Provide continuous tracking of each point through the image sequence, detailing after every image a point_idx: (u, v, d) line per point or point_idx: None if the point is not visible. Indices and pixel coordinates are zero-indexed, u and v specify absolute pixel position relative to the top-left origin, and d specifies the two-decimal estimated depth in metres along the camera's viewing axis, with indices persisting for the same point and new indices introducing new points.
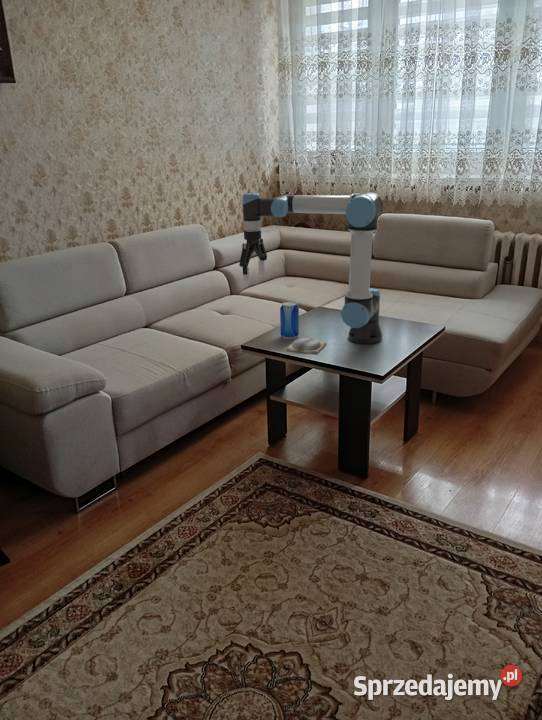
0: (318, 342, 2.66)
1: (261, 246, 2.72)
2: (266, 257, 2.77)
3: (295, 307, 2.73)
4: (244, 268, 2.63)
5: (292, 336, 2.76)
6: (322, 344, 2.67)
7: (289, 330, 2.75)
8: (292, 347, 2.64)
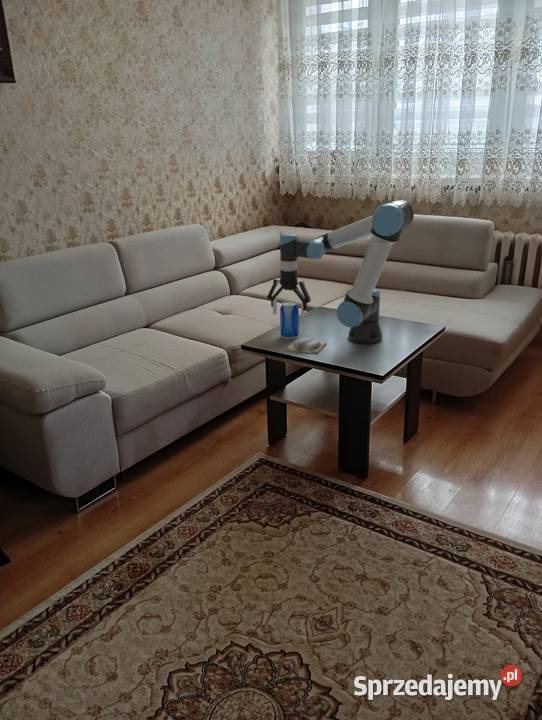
0: (318, 342, 2.66)
1: None
2: (307, 302, 2.69)
3: (295, 307, 2.73)
4: None
5: (292, 336, 2.76)
6: (322, 344, 2.67)
7: (289, 330, 2.75)
8: (292, 347, 2.64)
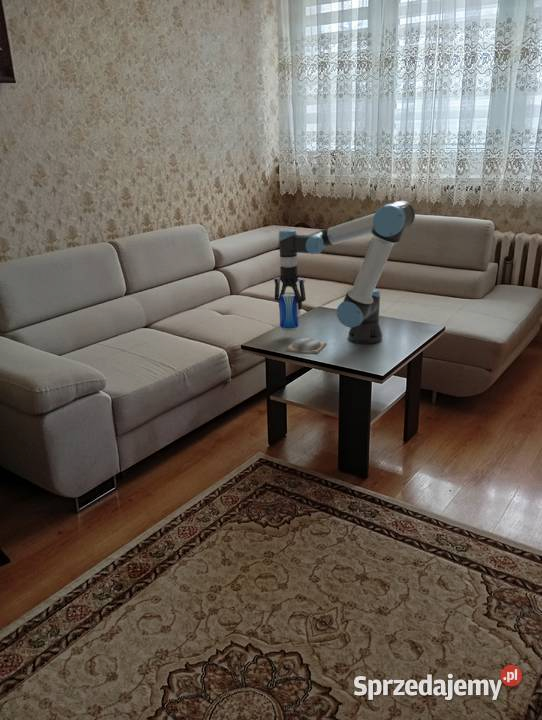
0: (318, 342, 2.66)
1: None
2: (302, 301, 2.70)
3: (295, 298, 2.71)
4: None
5: (293, 327, 2.74)
6: (322, 344, 2.67)
7: (290, 321, 2.73)
8: (292, 347, 2.64)
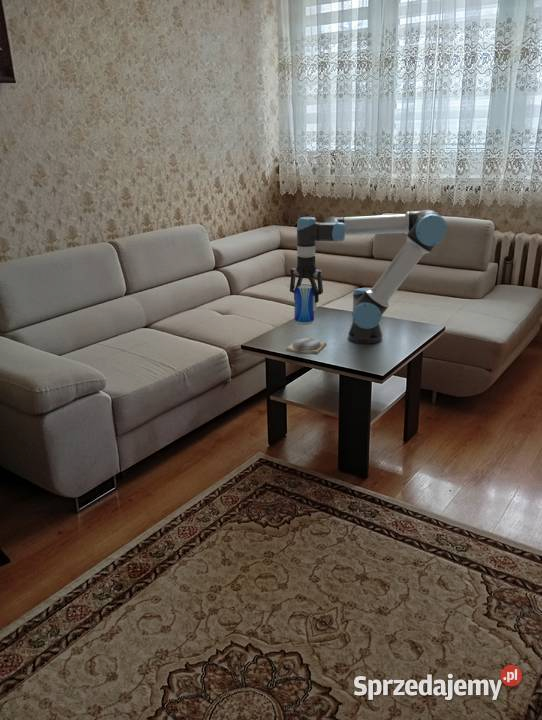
0: (318, 342, 2.66)
1: None
2: (319, 293, 2.54)
3: (312, 290, 2.55)
4: None
5: (309, 321, 2.58)
6: (322, 344, 2.67)
7: (306, 315, 2.57)
8: (292, 347, 2.64)
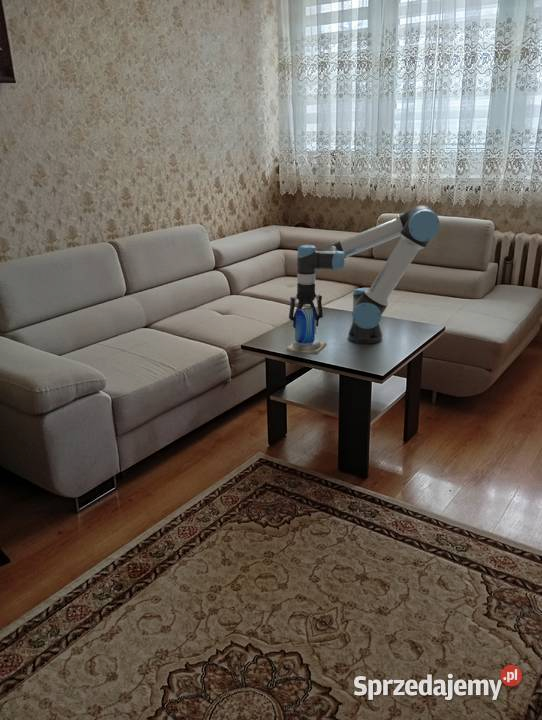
0: (318, 342, 2.66)
1: (318, 303, 2.60)
2: (321, 317, 2.62)
3: (313, 310, 2.59)
4: (293, 321, 2.61)
5: (312, 341, 2.62)
6: (322, 344, 2.67)
7: (310, 336, 2.60)
8: (292, 347, 2.64)
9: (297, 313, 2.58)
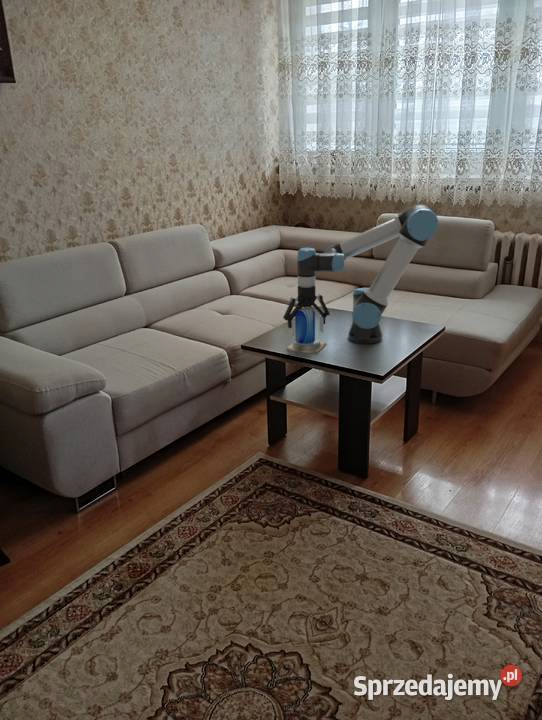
0: (318, 342, 2.66)
1: (320, 302, 2.61)
2: (328, 314, 2.63)
3: (313, 310, 2.59)
4: (288, 322, 2.60)
5: (313, 341, 2.62)
6: (322, 344, 2.67)
7: (311, 336, 2.60)
8: (292, 347, 2.64)
9: (297, 313, 2.58)
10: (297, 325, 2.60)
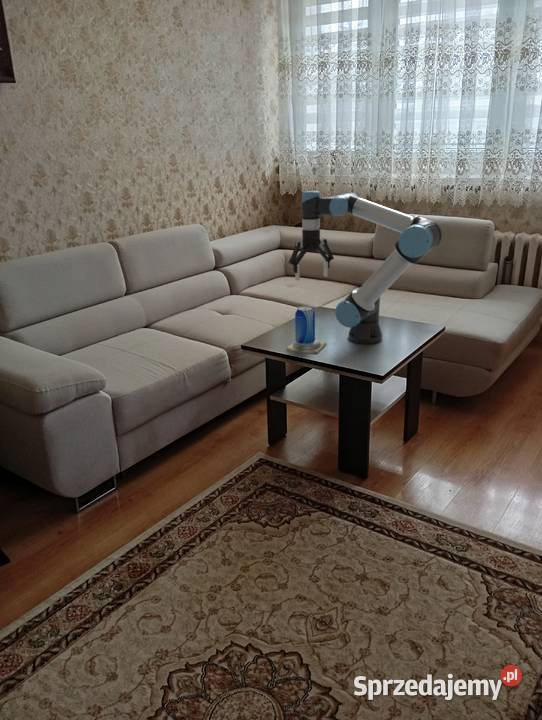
0: (318, 342, 2.66)
1: (325, 247, 2.62)
2: (332, 259, 2.65)
3: (313, 310, 2.59)
4: (294, 266, 2.60)
5: (313, 341, 2.62)
6: (322, 344, 2.67)
7: (311, 336, 2.60)
8: (292, 347, 2.64)
9: (297, 313, 2.58)
10: (297, 325, 2.60)
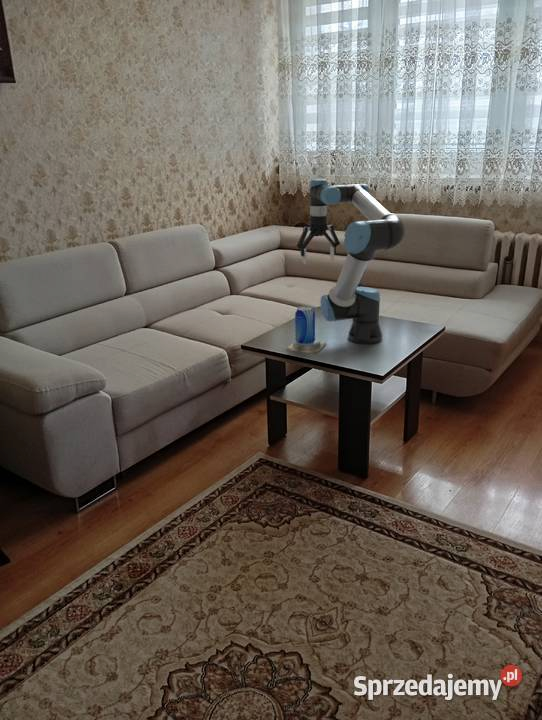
0: (318, 342, 2.66)
1: (331, 232, 2.77)
2: (338, 244, 2.79)
3: (313, 310, 2.59)
4: (301, 250, 2.75)
5: (313, 341, 2.62)
6: (322, 344, 2.67)
7: (311, 336, 2.60)
8: (292, 347, 2.64)
9: (297, 313, 2.58)
10: (297, 325, 2.60)
